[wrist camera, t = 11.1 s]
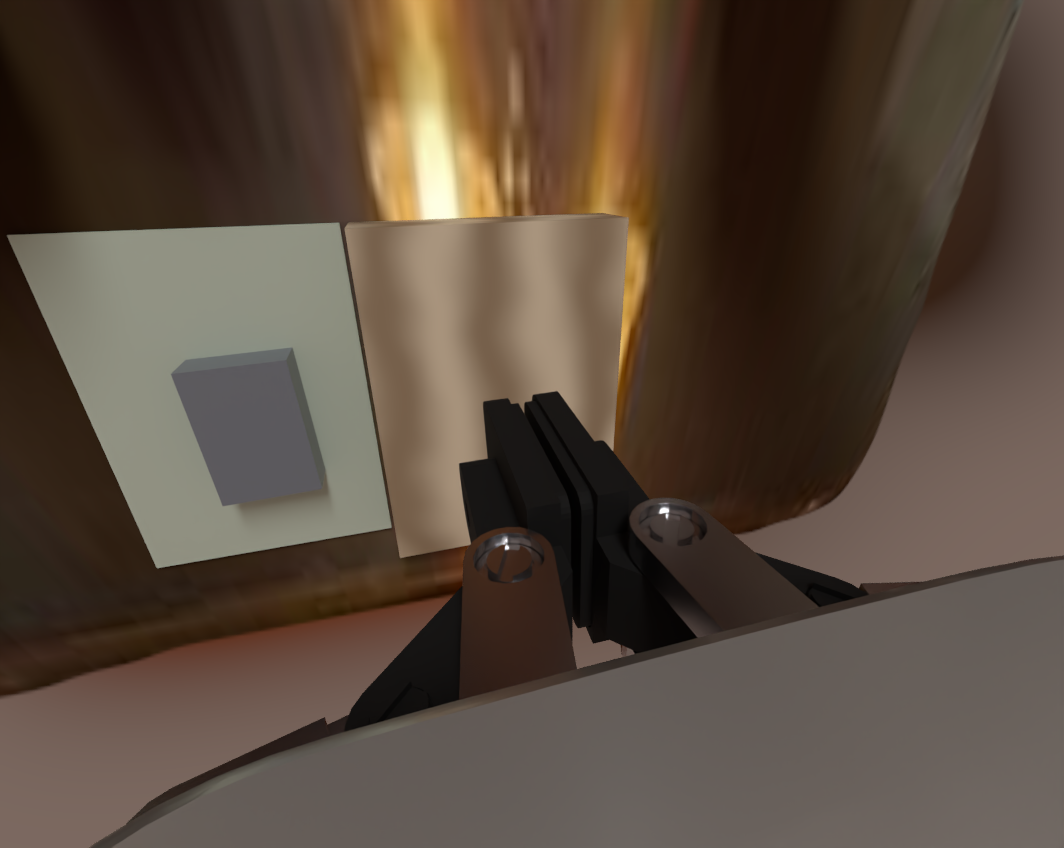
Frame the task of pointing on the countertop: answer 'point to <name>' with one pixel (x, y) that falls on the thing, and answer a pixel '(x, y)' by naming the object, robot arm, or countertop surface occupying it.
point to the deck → (480, 342)
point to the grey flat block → (252, 424)
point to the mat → (206, 331)
